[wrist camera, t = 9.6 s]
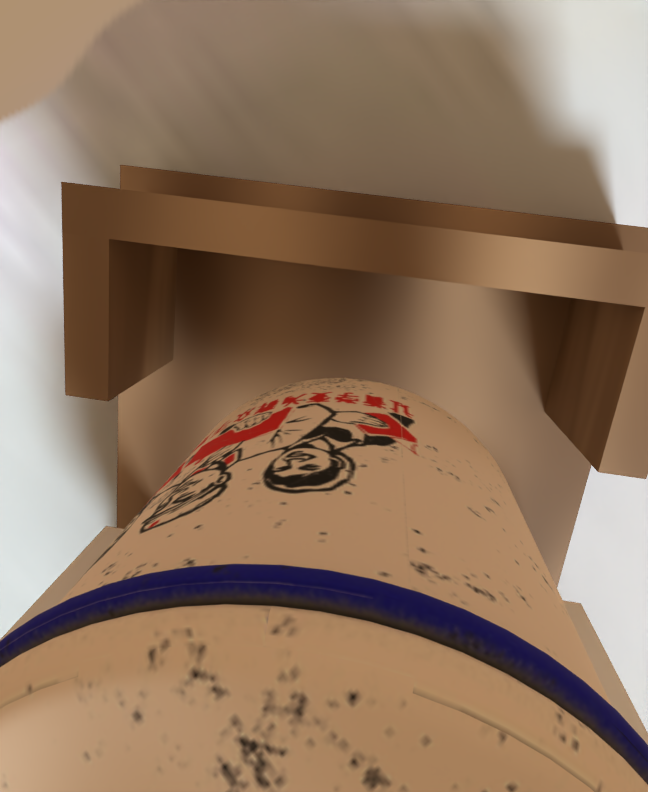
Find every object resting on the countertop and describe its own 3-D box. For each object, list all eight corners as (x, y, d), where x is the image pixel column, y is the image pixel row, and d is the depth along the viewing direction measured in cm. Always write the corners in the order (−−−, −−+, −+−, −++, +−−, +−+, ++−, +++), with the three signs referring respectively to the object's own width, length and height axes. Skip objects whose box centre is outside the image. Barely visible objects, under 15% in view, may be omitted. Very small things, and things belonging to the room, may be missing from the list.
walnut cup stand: (144, 600, 27) (49, 749, 19) (155, 173, 21) (28, 142, 14) (505, 660, 26) (558, 842, 18) (618, 228, 20) (762, 229, 13)
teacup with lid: (402, 288, 13) (507, 721, 2) (591, 595, 14) (1312, 1893, 3) (25, 527, 16) (-886, 1278, 4) (218, 759, 17) (-94, 1734, 6)
